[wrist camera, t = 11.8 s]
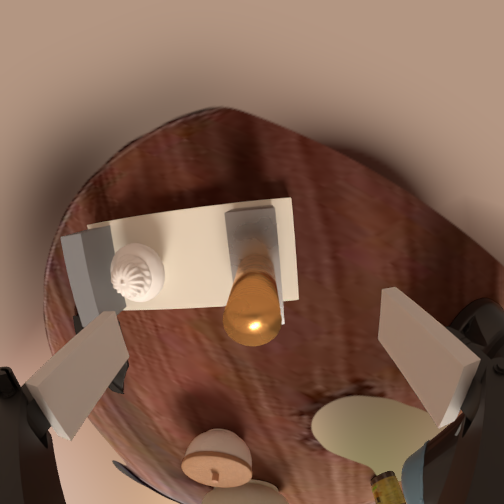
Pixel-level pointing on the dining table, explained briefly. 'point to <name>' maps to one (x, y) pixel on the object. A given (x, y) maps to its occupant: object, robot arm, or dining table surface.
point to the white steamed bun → (137, 272)
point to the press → (170, 258)
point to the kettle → (246, 494)
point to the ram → (253, 276)
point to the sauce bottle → (387, 489)
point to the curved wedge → (118, 380)
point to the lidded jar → (218, 459)
